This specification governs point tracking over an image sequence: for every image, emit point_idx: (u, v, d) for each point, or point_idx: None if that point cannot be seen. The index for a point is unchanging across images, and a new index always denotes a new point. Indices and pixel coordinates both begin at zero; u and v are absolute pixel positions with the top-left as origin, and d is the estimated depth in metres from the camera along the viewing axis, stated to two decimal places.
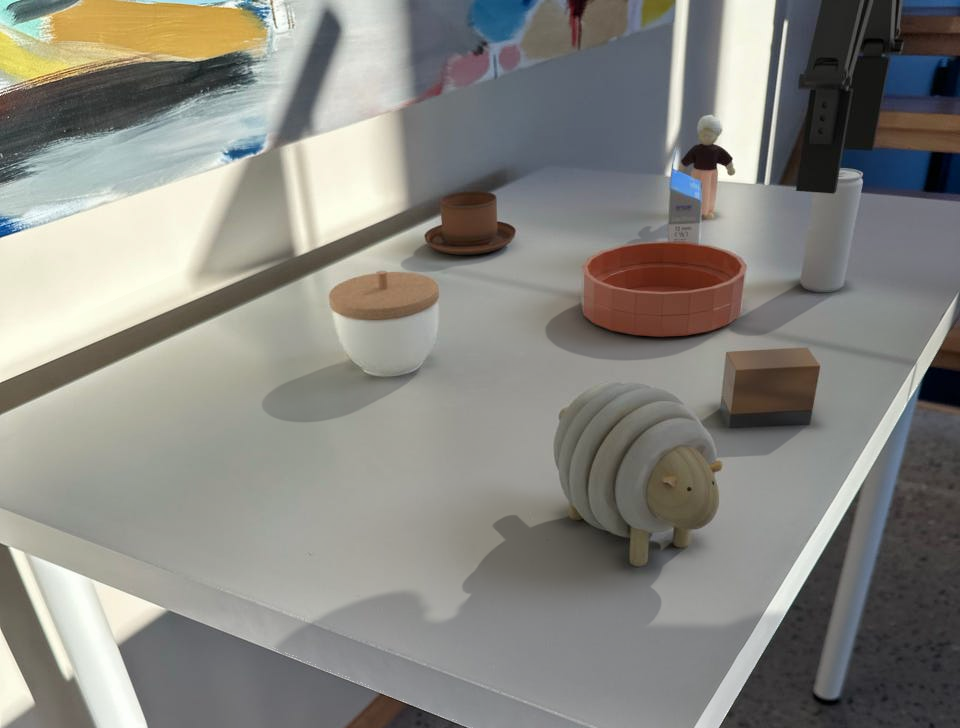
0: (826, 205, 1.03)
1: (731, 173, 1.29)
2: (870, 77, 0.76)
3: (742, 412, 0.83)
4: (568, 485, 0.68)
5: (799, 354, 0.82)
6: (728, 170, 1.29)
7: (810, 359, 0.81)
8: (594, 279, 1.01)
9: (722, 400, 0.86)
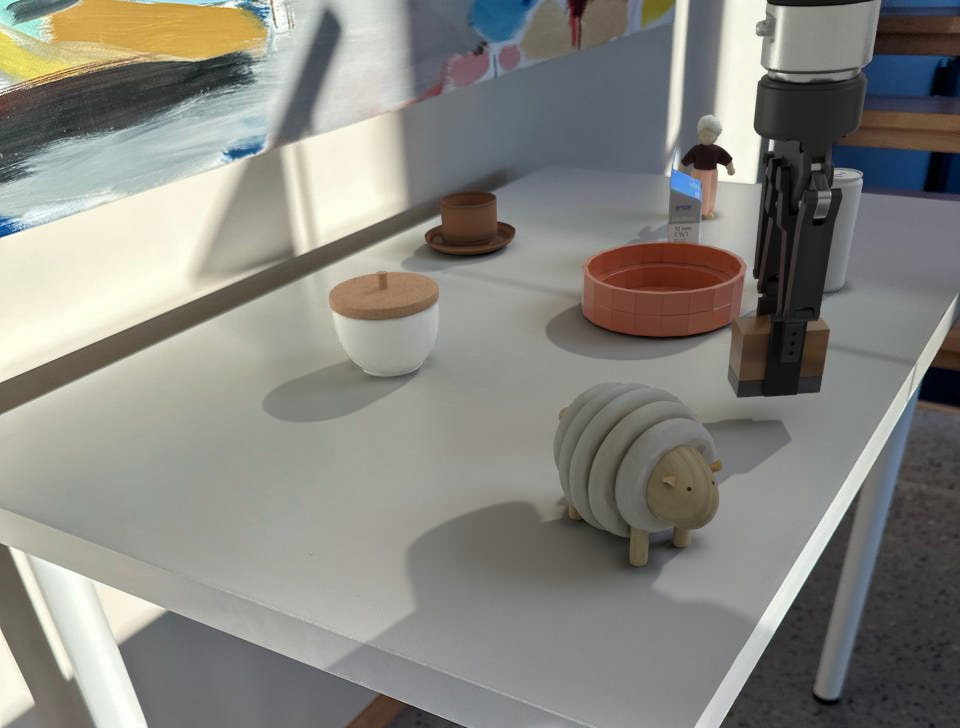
0: None
1: (731, 173, 1.29)
2: None
3: (751, 379, 0.81)
4: (568, 485, 0.68)
5: None
6: (728, 170, 1.29)
7: (819, 323, 0.79)
8: (594, 279, 1.01)
9: (730, 368, 0.84)
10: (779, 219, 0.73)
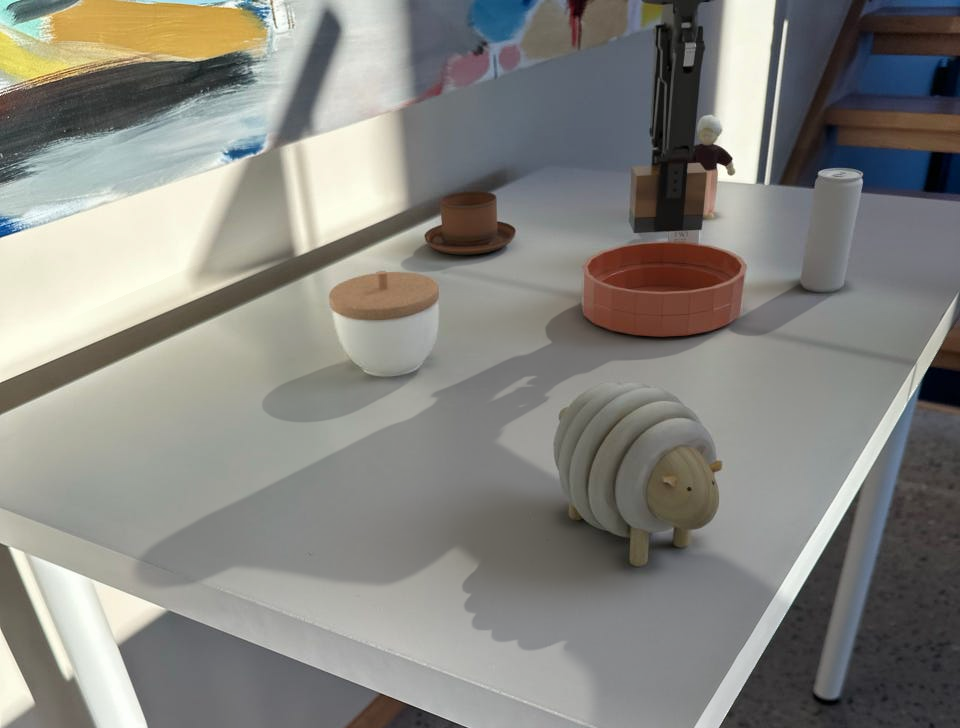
0: (826, 205, 1.03)
1: (731, 173, 1.29)
2: None
3: (644, 216, 0.98)
4: (568, 485, 0.68)
5: (691, 166, 0.98)
6: (728, 170, 1.29)
7: (699, 169, 0.97)
8: (594, 279, 1.01)
9: (630, 211, 1.01)
10: (661, 73, 0.90)
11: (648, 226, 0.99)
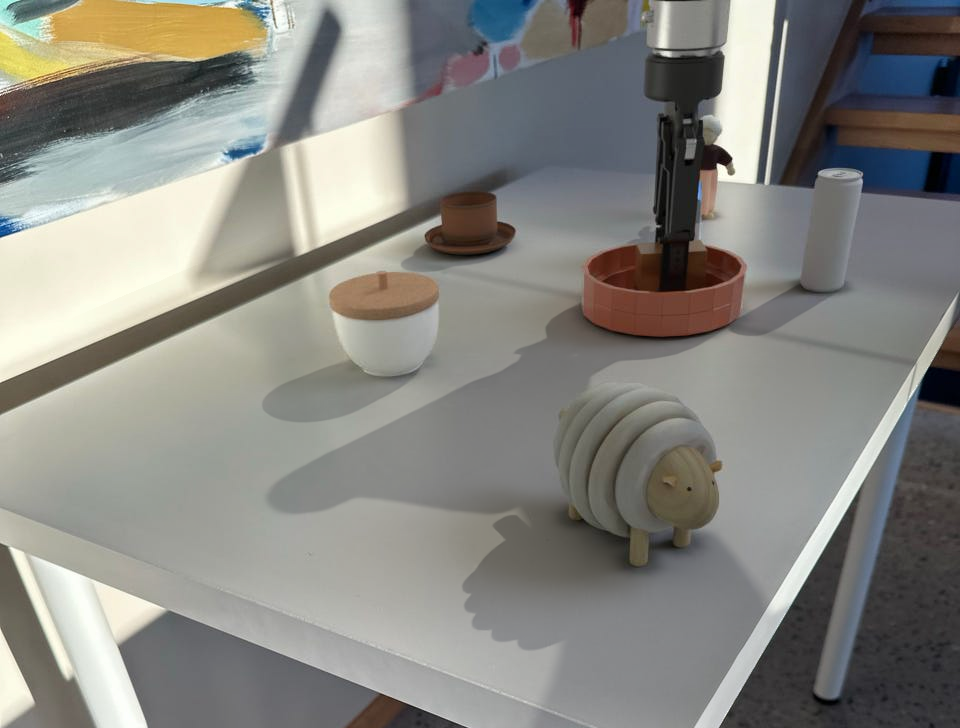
0: (826, 205, 1.03)
1: (731, 173, 1.29)
2: None
3: (648, 290, 1.05)
4: (568, 485, 0.68)
5: (693, 244, 1.04)
6: (728, 170, 1.29)
7: (700, 247, 1.03)
8: (594, 279, 1.01)
9: (635, 284, 1.07)
10: (664, 162, 0.97)
11: None
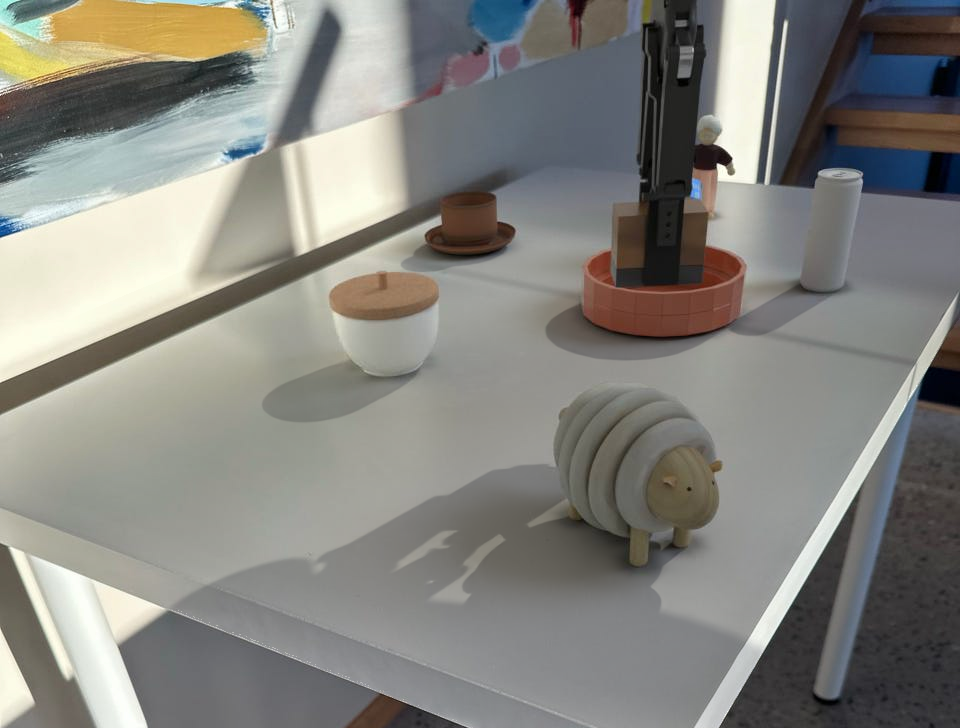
0: (826, 205, 1.03)
1: (731, 173, 1.29)
2: None
3: (629, 266, 0.77)
4: (568, 485, 0.68)
5: (689, 204, 0.77)
6: (728, 170, 1.29)
7: (699, 207, 0.76)
8: (594, 279, 1.01)
9: (611, 259, 0.80)
10: (649, 86, 0.69)
11: (634, 279, 0.78)
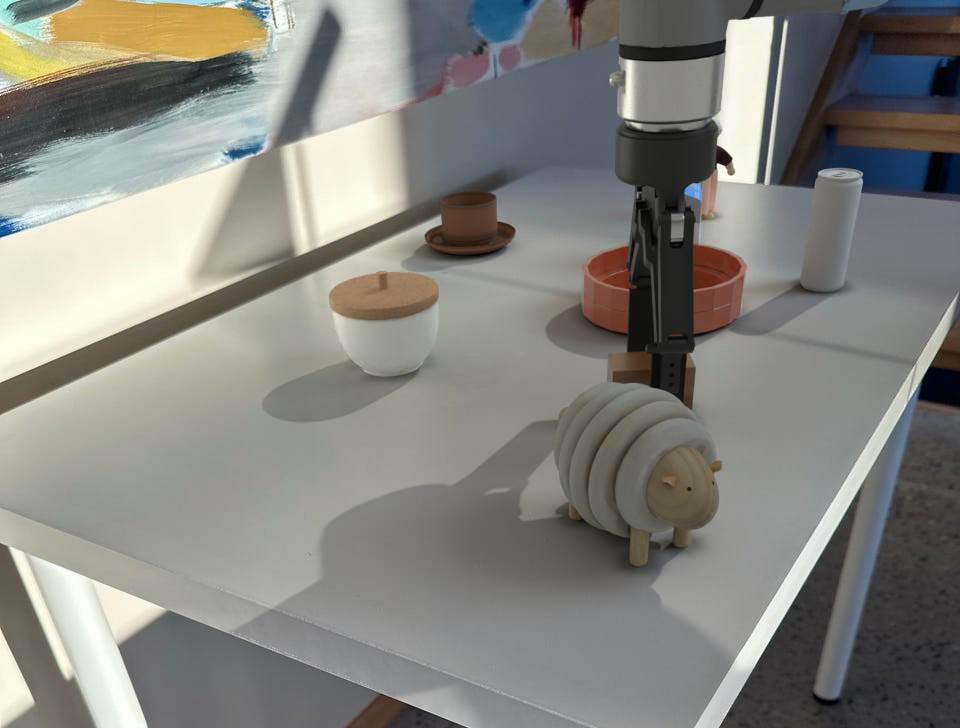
0: (826, 205, 1.03)
1: (731, 173, 1.29)
2: (647, 305, 0.86)
3: None
4: (568, 485, 0.68)
5: None
6: (728, 170, 1.29)
7: (687, 361, 0.82)
8: (594, 279, 1.01)
9: None
10: (645, 255, 0.74)
11: None
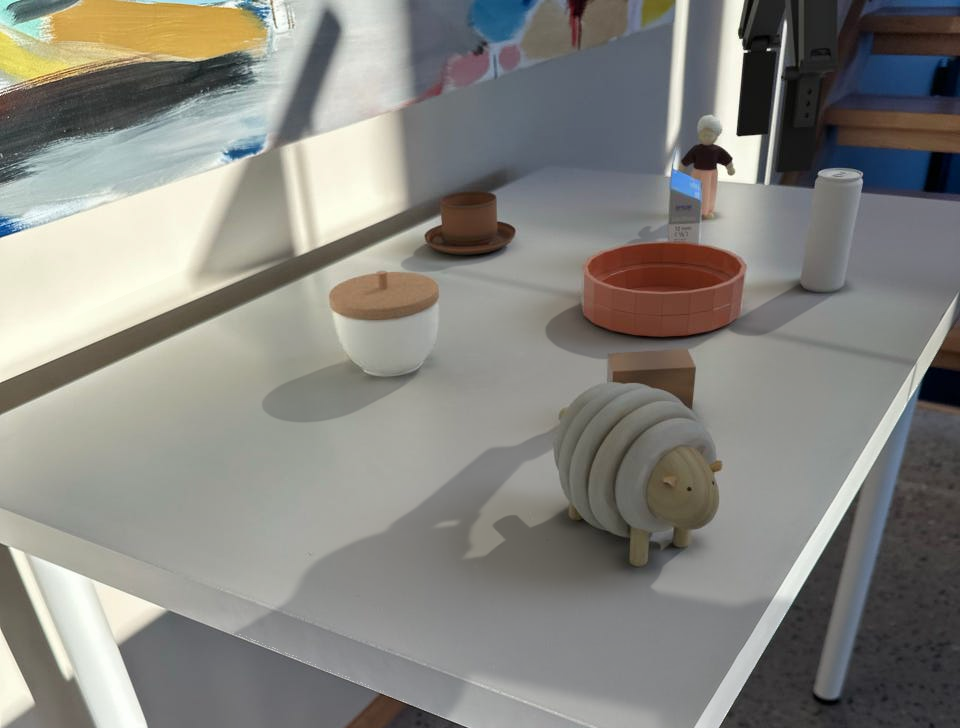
0: (826, 205, 1.03)
1: (731, 173, 1.29)
2: (762, 69, 0.85)
3: None
4: (568, 485, 0.68)
5: (678, 356, 0.83)
6: (728, 170, 1.29)
7: (687, 361, 0.82)
8: (594, 279, 1.01)
9: None
10: None
11: None
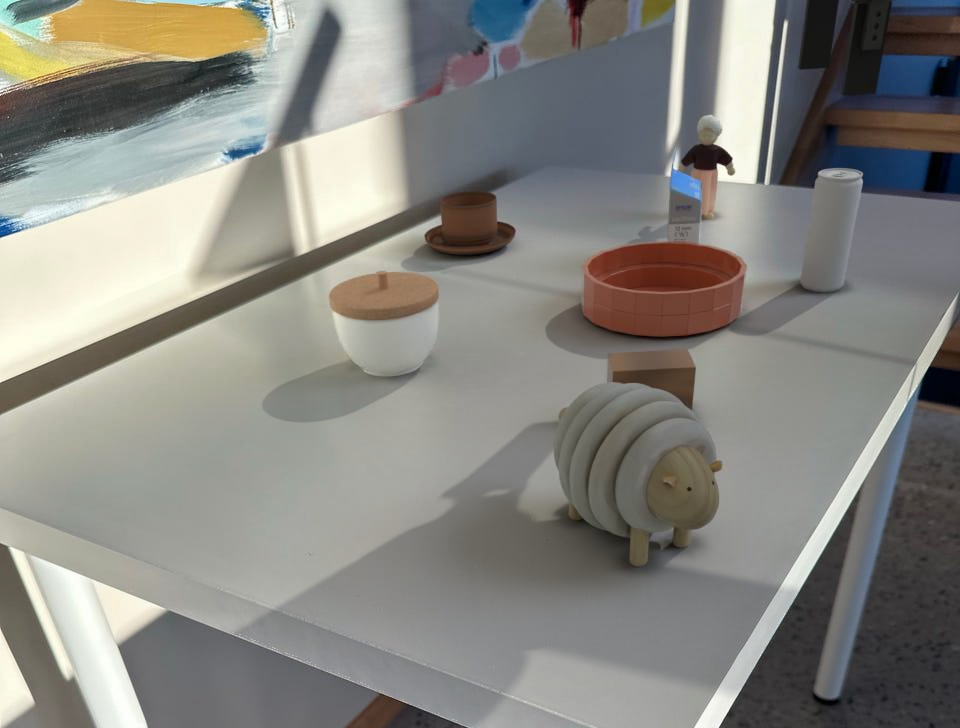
0: (826, 205, 1.03)
1: (731, 173, 1.29)
2: (826, 3, 0.88)
3: None
4: (568, 485, 0.68)
5: (678, 356, 0.83)
6: (728, 170, 1.29)
7: (687, 361, 0.82)
8: (594, 279, 1.01)
9: None
10: None
11: None
